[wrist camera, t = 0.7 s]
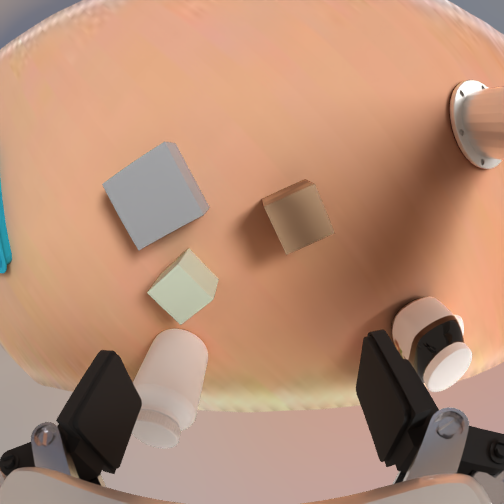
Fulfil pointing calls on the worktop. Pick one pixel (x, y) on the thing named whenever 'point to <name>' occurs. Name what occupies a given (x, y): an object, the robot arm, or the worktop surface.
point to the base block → (156, 195)
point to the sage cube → (184, 287)
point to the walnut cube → (298, 216)
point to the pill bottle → (169, 387)
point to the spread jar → (432, 342)
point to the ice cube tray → (3, 240)
